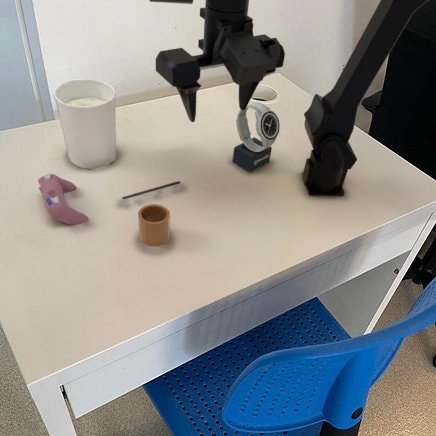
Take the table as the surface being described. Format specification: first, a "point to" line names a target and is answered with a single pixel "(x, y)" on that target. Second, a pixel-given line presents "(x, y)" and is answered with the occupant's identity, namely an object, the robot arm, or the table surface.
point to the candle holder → (88, 121)
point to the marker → (151, 190)
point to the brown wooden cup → (154, 225)
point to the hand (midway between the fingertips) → (217, 114)
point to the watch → (253, 148)
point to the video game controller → (59, 199)
